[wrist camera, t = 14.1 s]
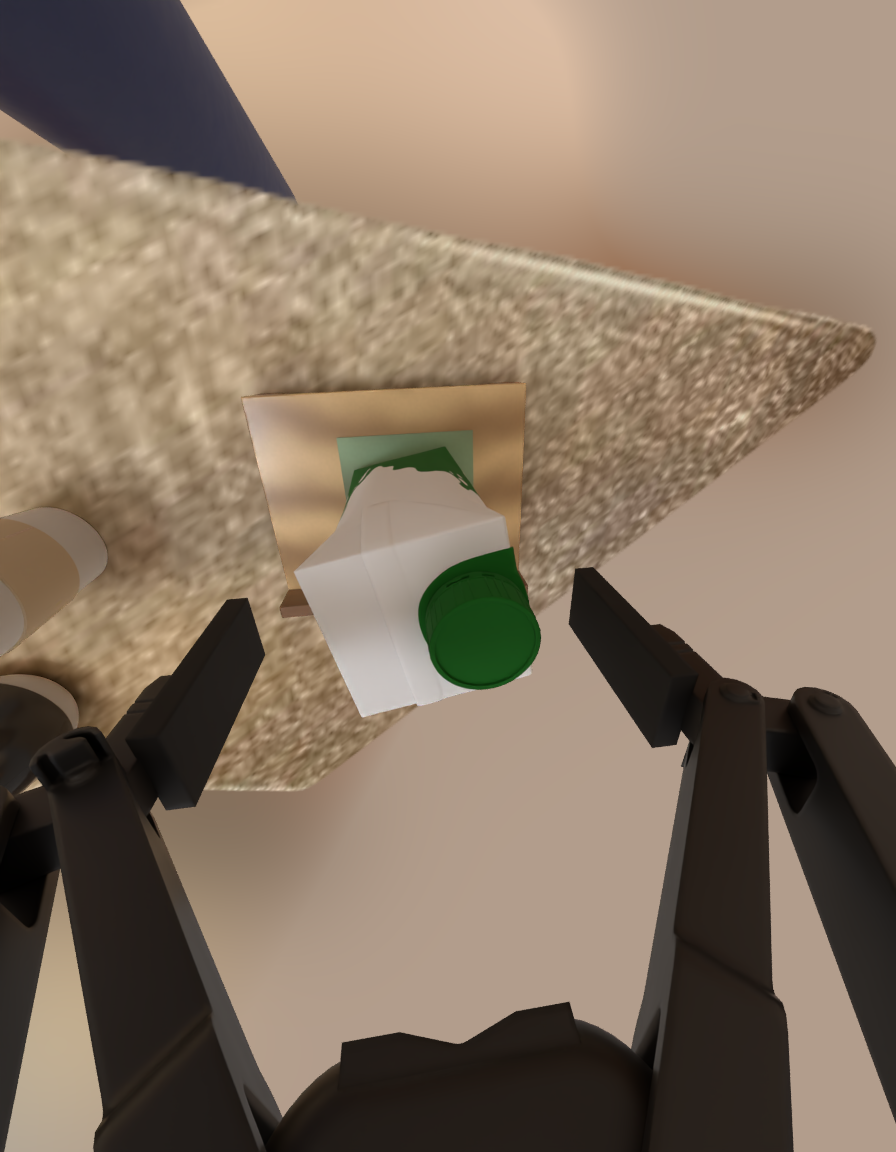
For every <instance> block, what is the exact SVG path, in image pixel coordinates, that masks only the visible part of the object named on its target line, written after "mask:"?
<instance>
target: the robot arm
mask: <svg viewBox="0 0 896 1152" xmlns="http://www.w3.org/2000/svg"><path fill="white" fill-rule="evenodd" d="M569 625H570V627H571V628H572V630H573V631H574V633H575V634H576V636H577V637H578V639H579V640H580V641H581V643H582V645H583V646H584V648H585V649H586V651H587V652H588V653H589V655H590V656H591V658H592V659H593V661H594V662H595V664H596V665H597V667H598V668H599V670H600V671H601V673H602V674H603V676H604V677H605V679H606V680H607V682H608V683H609V684H610V686H611V688H612V689H613V691H614V692H615V694H616V695H617V696H618V698H619V699H620V701H621V702H622V704H623V705H624V707H625V708H626V710H627V711H628V713H629V714H630V716H631V717H632V719H633V720H634V722H635V723H636V725H637V726H638V728H639V729H640V731H641V732H642V734H643V735H644V736H645V738H646V739H647V741H648V742H649V744H650V745H651V747H652V748H655V747H663V746H670V745H676V744H677V741H678V738H679V735H680V732H681V731H682V732H683V733H684V734H685V736H686V737H687V738H688V739H689V744H688V747H687V750H686V753H685V756H684V759H683V762H682V765H681V767H684V768H683V774H682V780H681V786H680V791H679V797H678V803H677V808H676V814H675V820H674V825H673V831H672V838H671V843H670V848H669V854H668V860H667V866H666V871H665V877H664V883H663V889H662V894H661V900H660V906H659V911H658V917H657V923H656V929H655V934H654V940H653V946H652V951H651V957H650V963H649V968H648V974H647V980H646V986H645V992H644V996H643V1000H642V1004H641V1008H640V1012H639V1016H638V1019H637V1024H636V1028H635V1032H634V1037H633V1042H632V1047H631V1049H630V1048H629V1047H628V1046H627V1045H626V1044H624V1043H623V1042H622V1041H620V1040H619V1039H617V1038H616V1037H615V1036H613V1035H612V1034H610V1033H608V1032H606V1031H604V1030H603V1029H601V1028H599V1027H597V1026H595V1025H592V1024H589V1023H587V1022H584V1021H582V1020H577V1019H574V1017H573V1013H572V1009H571V1006H570V1003H569V1002H566V1003H560V1004H555V1005H549V1006H543V1007H538V1008H532V1009H527V1010H522V1011H516V1012H514V1013H512V1014H511V1015H509V1016H508V1017H506V1018H504V1019H502V1020H501V1021H499V1022H498V1023H496V1024H494V1025H493V1026H491V1027H489V1028H488V1029H486V1030H484V1031H483V1032H481V1033H480V1034H478V1035H477V1036H475V1037H473V1038H471V1039H470V1040H468V1041H466V1042H464V1043H461V1044H453V1043H449V1042H443V1041H439V1040H434V1039H430V1038H425V1037H419V1036H415V1035H410V1034H405V1033H401V1032H398V1033H393V1034H387V1035H382V1036H376V1037H371V1038H365V1039H360V1040H354V1041H349V1042H343V1043H342V1050H341V1061H340V1062H339V1063H337V1064H336V1065H334V1066H332V1067H331V1068H330V1069H328V1070H327V1071H326V1072H324V1073H323V1074H322V1075H321V1076H319V1077H318V1078H317V1079H316V1080H315V1081H314V1082H313V1083H312V1084H311V1085H310V1086H309V1087H308V1088H307V1089H306V1090H305V1091H304V1092H303V1093H302V1094H301V1095H300V1096H299V1098H298V1099H297V1100H296V1101H295V1103H294V1104H293V1105H292V1106H291V1107H290V1108H289V1110H288V1111H287V1112H286V1114H285V1116H284V1117H282V1115H281V1113H280V1110H279V1108H278V1106H277V1104H276V1101H275V1099H274V1097H273V1095H272V1093H271V1091H270V1089H269V1087H268V1085H267V1083H266V1081H265V1080H264V1078H263V1076H262V1074H261V1072H260V1070H259V1068H258V1066H257V1063H256V1061H255V1059H254V1057H253V1054H252V1052H251V1049H250V1047H249V1045H248V1042H247V1040H246V1037H245V1035H244V1033H243V1030H242V1028H241V1025H240V1023H239V1020H238V1018H237V1016H236V1013H235V1011H234V1009H233V1006H232V1004H231V1001H230V999H229V996H228V994H227V992H226V989H225V987H224V984H223V982H222V980H221V977H220V975H219V973H218V970H217V968H216V965H215V963H214V960H213V958H212V956H211V953H210V951H209V949H208V946H207V943H206V941H205V939H204V936H203V934H202V931H201V929H200V927H199V924H198V922H197V919H196V917H195V915H194V912H193V910H192V907H191V905H190V903H189V901H188V898H187V896H186V893H185V891H184V888H183V886H182V883H181V881H180V879H179V876H178V874H177V871H176V869H175V867H174V864H173V862H172V859H171V857H170V855H169V852H168V850H167V847H166V845H165V842H164V840H163V838H162V835H161V833H160V830H159V828H158V826H157V823H156V821H155V818H154V817H153V815H152V814H151V812H150V810H151V808H152V807H153V805H154V803H155V801H156V800H157V798H158V797H159V799H160V801H161V802H162V804H163V806H164V808H165V809H166V810H172V809H180V808H188V807H195V806H196V804H197V802H198V800H199V798H200V796H201V793H202V791H203V789H204V787H205V785H206V783H207V780H208V778H209V776H210V774H211V772H212V769H213V767H214V765H215V763H216V761H217V759H218V756H219V754H220V752H221V750H222V748H223V746H224V743H225V741H226V739H227V737H228V735H229V732H230V730H231V728H232V726H233V724H234V722H235V719H236V717H237V715H238V713H239V711H240V708H241V706H242V704H243V702H244V700H245V698H246V695H247V693H248V691H249V689H250V687H251V685H252V682H253V680H254V678H255V676H256V674H257V671H258V669H259V667H260V665H261V663H262V661H263V658H264V656H265V652H264V649H263V646H262V643H261V639H260V636H259V633H258V630H257V626H256V623H255V620H254V617H253V614H252V610H251V607H250V604H249V601H248V598H240V599H229V600H226V602H225V603H224V604H223V606H222V607H221V609H220V610H219V611H218V613H217V614H216V615H215V617H214V618H213V619H212V621H211V622H210V624H209V625H208V626H207V628H206V629H205V630H204V632H203V633H202V634H201V636H200V637H199V639H198V640H197V641H196V643H195V644H194V645H193V647H192V648H191V649H190V651H189V652H188V654H187V655H186V656H185V658H184V659H183V660H182V662H181V663H180V664H179V666H178V667H177V669H176V670H175V671H174V673H173V674H172V675H168V676H160V677H159V678H158V679H157V680H155V681H154V682H153V683H151V684H150V685H149V686H147V687H146V688H145V689H144V690H143V692H142V693H141V694H140V695H139V697H138V698H137V699H136V701H135V704H132V706H131V707H130V708H129V709H128V711H127V714H126V715H124V716H123V717H122V718H121V720H120V721H119V722H118V723H117V725H116V726H115V727H114V728H113V730H112V731H111V732H110V734H109V735H108V736H107V737H106V739H105V737H104V735H103V734H102V732H101V731H100V730H99V729H98V728H97V727H89V726H87V727H82V728H76V729H74V730H71V731H68V732H66V733H63V734H61V735H59V736H58V737H56V738H54V739H52V740H51V741H49V742H48V743H46V744H45V745H44V746H43V747H41V748H40V749H39V750H38V751H37V752H36V753H35V755H34V756H33V757H32V758H31V760H30V764H29V768H30V770H31V771H32V772H33V774H34V775H35V776H36V777H37V779H38V780H39V781H40V783H41V784H42V785H43V786H41V787H38V788H35V789H32V790H29V791H26V792H24V793H20V794H18V795H15V796H13V795H12V794H11V793H10V792H9V791H8V790H7V789H6V788H5V787H3V786H2V785H0V1152H4V1149H5V1144H6V1139H7V1134H8V1129H9V1124H10V1119H11V1114H12V1109H13V1104H14V1099H15V1094H16V1089H17V1084H18V1079H19V1074H20V1069H21V1064H22V1059H23V1053H24V1048H25V1043H26V1038H27V1033H28V1028H29V1023H30V1018H31V1013H32V1008H33V1003H34V998H35V993H36V988H37V983H38V978H39V973H40V967H41V963H42V957H43V952H44V947H45V942H46V937H47V932H48V927H49V922H50V917H51V912H52V907H53V902H54V897H55V892H56V886H57V881H58V877H59V871H60V869H61V873H62V878H63V884H64V889H65V895H66V901H67V906H68V912H69V918H70V924H71V929H72V934H73V940H74V946H75V952H76V957H77V963H78V969H79V974H80V980H81V986H82V991H83V996H84V1002H85V1008H86V1013H87V1019H88V1025H89V1031H90V1036H91V1041H92V1047H93V1053H94V1059H95V1065H96V1070H97V1076H98V1081H99V1087H100V1092H101V1098H102V1106H103V1118H102V1122H101V1123H100V1125H99V1127H98V1128H97V1130H96V1132H95V1138H94V1146H93V1149H94V1152H794V1150H793V1130H792V1108H791V1087H790V1065H789V1044H788V1029H787V1019H786V1013H785V1010H784V1006H783V1003H782V1002H781V1001H780V1000H779V999H778V998H777V997H776V996H775V993H774V990H773V984H772V983H773V982H772V954H771V913H770V879H769V878H770V877H769V840H768V839H769V835H768V796H767V774H768V777H769V779H770V782H771V785H772V787H773V790H774V793H775V796H776V798H777V801H778V803H779V807H780V809H781V812H782V815H783V817H784V820H785V823H786V826H787V828H788V831H789V833H790V837H791V839H792V842H793V845H794V847H795V850H796V853H797V856H798V858H799V861H800V864H801V867H802V869H803V872H804V875H805V877H806V880H807V883H808V886H809V888H810V891H811V894H812V896H813V899H814V902H815V904H816V907H817V910H818V913H819V915H820V918H821V921H822V923H823V926H824V929H825V932H826V934H827V937H828V940H829V943H830V945H831V948H832V951H833V954H834V956H835V959H836V962H837V964H838V967H839V970H840V973H841V975H842V978H843V981H844V983H845V986H846V989H847V991H848V994H849V997H850V1000H851V1003H852V1005H853V1008H854V1011H855V1013H856V1016H857V1019H858V1021H859V1024H860V1027H861V1030H862V1032H863V1035H864V1038H865V1041H866V1043H867V1046H868V1049H869V1052H870V1054H871V1057H872V1059H873V1062H874V1065H875V1068H876V1070H877V1073H878V1076H879V1079H880V1081H881V1084H882V1087H883V1090H884V1092H885V1095H886V1098H887V1100H888V1103H889V1106H890V1109H891V1111H892V1114H893V1117H894V1120H895V1122H896V767H895V765H894V764H893V762H892V761H891V759H890V758H889V756H888V755H887V754H886V752H885V751H884V749H883V748H882V746H881V745H880V743H879V742H878V740H877V739H876V738H875V736H874V735H873V733H872V732H871V730H870V729H869V727H868V726H867V724H866V723H865V721H864V720H863V719H862V717H861V716H860V714H859V713H858V711H857V710H856V709H855V708H854V707H853V706H852V705H851V704H850V703H849V702H847V701H846V700H844V699H843V698H841V697H840V696H838V695H836V694H834V693H831V692H829V691H826V690H821V689H818V688H812V687H803V688H799V689H797V690H796V691H795V692H794V694H793V696H792V698H791V700H786V699H778V698H769V697H763V696H761V694H760V693H759V692H758V691H757V690H756V689H754V688H752V687H751V686H749V685H748V684H746V683H743V682H741V681H738V680H735V679H730V678H723V677H722V676H720V675H719V674H718V673H717V672H716V671H715V670H714V669H713V668H712V667H711V666H710V665H709V664H708V663H707V662H706V661H705V660H704V659H702V658H701V657H700V656H699V655H698V654H697V653H696V652H694V651H693V649H692V648H691V647H690V646H689V645H688V644H685V641H684V640H683V639H681V638H680V637H679V636H678V635H677V634H676V633H675V632H674V631H672V630H670V629H668V628H666V627H664V626H663V625H661V624H657V625H650V624H649V623H648V622H647V621H646V620H645V619H644V618H643V617H642V616H641V615H640V614H639V613H638V612H637V611H636V610H635V609H634V608H633V607H632V606H631V605H630V604H629V603H628V602H627V601H626V600H625V599H624V598H623V597H622V596H621V595H620V594H619V593H618V592H617V591H616V590H615V589H614V588H613V587H612V586H611V585H610V584H609V583H608V582H607V581H606V580H605V579H604V578H603V577H602V576H601V575H600V574H599V573H598V572H597V571H596V570H595V569H594V568H593V567H589V568H578V569H575V575H574V584H573V592H572V601H571V609H570V619H569Z"/></svg>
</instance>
